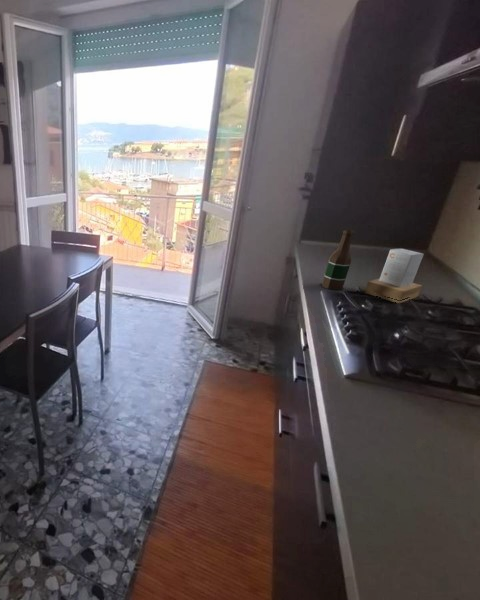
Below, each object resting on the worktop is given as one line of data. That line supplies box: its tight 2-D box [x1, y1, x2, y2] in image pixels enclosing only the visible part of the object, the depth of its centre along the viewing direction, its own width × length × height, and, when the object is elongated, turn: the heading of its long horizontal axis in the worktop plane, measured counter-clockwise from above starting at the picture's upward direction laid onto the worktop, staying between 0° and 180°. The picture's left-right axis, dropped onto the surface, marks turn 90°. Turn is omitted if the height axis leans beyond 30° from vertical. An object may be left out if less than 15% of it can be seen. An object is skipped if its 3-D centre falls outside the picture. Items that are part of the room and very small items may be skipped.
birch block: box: [363, 277, 423, 304], centre depth 142 cm, size 12×14×5 cm
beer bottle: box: [321, 229, 355, 291], centre depth 146 cm, size 8×8×24 cm
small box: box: [379, 248, 425, 287], centre depth 138 cm, size 8×6×13 cm
